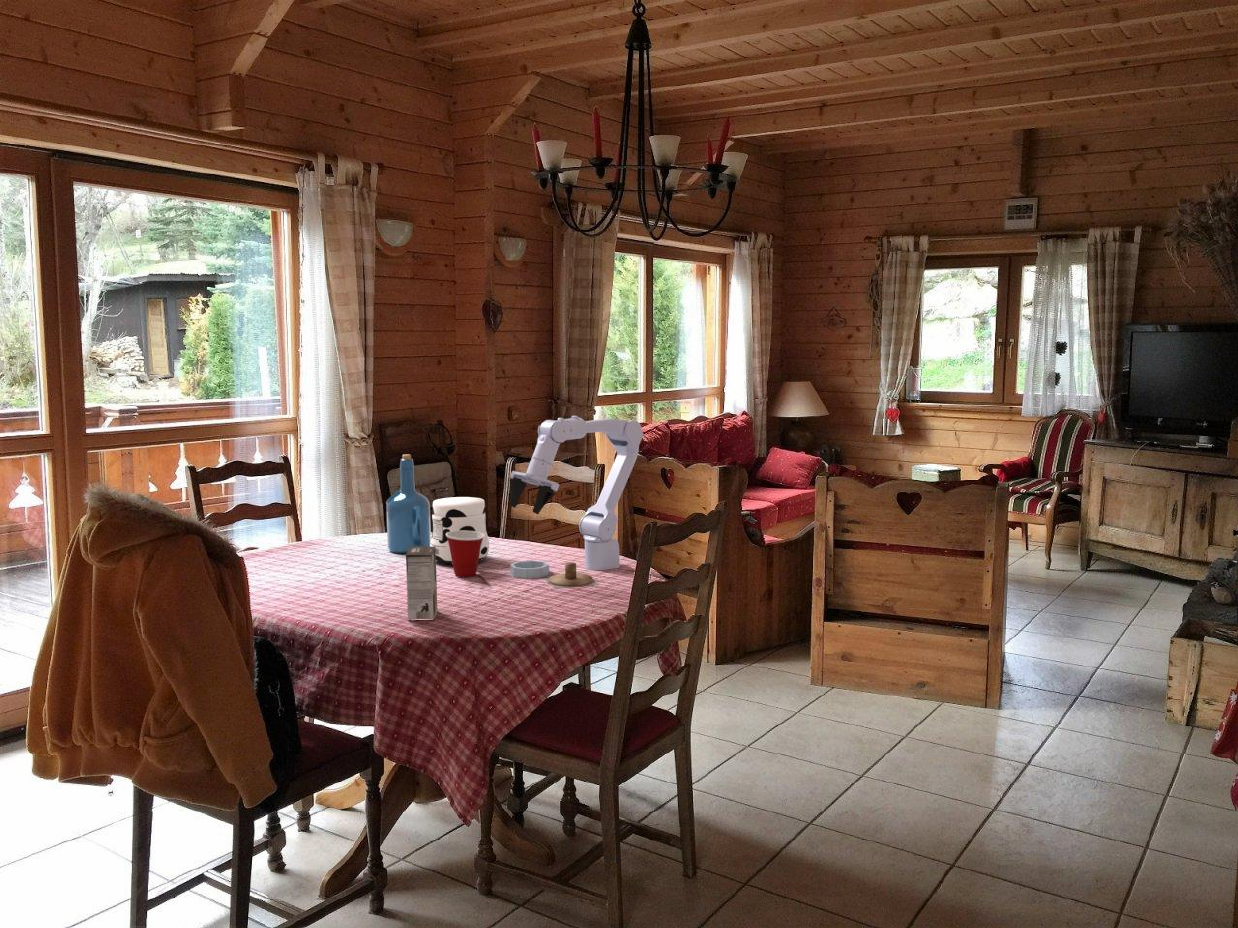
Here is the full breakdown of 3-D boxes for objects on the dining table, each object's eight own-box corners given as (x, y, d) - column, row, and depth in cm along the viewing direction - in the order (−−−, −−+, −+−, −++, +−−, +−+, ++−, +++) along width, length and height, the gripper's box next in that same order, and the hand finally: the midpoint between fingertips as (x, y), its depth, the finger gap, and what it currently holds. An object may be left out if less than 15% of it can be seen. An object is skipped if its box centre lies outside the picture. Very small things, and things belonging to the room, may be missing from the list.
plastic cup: (478, 580, 279) (477, 537, 277) (440, 579, 281) (439, 536, 279) (491, 571, 289) (490, 530, 288) (455, 570, 292) (453, 528, 290)
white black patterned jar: (496, 555, 310) (495, 497, 308) (479, 568, 294) (477, 506, 291) (442, 553, 314) (440, 495, 311) (421, 566, 297) (420, 505, 294)
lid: (584, 574, 281) (584, 557, 280) (598, 584, 270) (598, 566, 269) (544, 578, 277) (543, 560, 276) (556, 588, 266) (555, 570, 266)
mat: (585, 577, 281) (585, 574, 281) (599, 587, 270) (599, 584, 270) (543, 581, 277) (543, 578, 277) (555, 592, 266) (555, 588, 266)
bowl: (542, 571, 289) (542, 559, 288) (552, 579, 280) (552, 566, 279) (507, 574, 286) (507, 562, 285) (516, 582, 276) (516, 570, 276)
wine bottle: (437, 546, 324) (435, 452, 320) (420, 555, 311) (417, 457, 307) (398, 544, 327) (394, 451, 323) (379, 553, 314) (375, 456, 310)
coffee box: (411, 611, 249) (409, 546, 247) (438, 610, 249) (436, 545, 247) (407, 621, 240) (404, 554, 238) (434, 620, 240) (432, 553, 238)
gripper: (512, 451, 273) (494, 499, 271) (556, 463, 266) (538, 512, 264) (525, 460, 279) (507, 506, 277) (569, 471, 272) (551, 519, 270)
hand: (523, 509), depth 271 cm, fingers open, 7 cm apart
